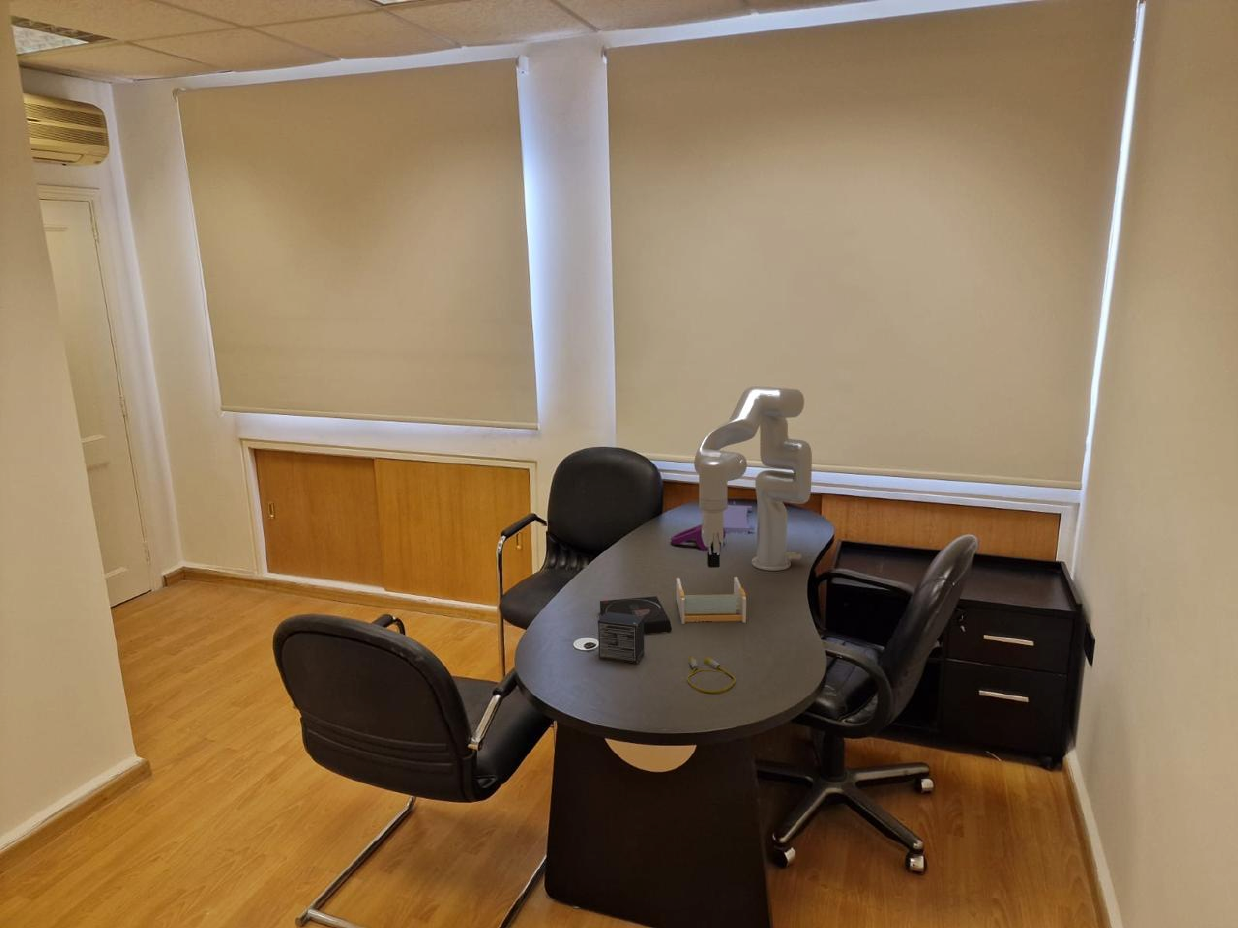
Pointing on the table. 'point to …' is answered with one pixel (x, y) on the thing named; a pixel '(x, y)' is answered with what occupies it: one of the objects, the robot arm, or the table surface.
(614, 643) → the small box
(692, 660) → the extension cord
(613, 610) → the portable cd player
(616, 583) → the table surface
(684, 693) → the table surface
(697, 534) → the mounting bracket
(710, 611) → the panel
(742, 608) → the rack
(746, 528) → the computer part
